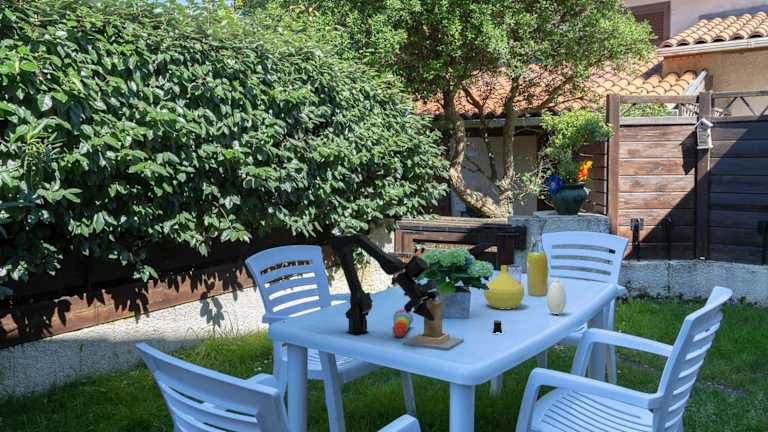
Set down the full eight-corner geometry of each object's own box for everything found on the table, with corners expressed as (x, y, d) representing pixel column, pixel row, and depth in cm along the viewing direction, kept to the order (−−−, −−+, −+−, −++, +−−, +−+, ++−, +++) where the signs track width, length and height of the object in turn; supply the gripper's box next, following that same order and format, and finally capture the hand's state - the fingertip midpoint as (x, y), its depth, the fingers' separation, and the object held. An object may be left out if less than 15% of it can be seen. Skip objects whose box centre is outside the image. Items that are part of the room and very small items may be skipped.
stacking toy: (397, 328, 273) (391, 344, 255) (391, 310, 273) (384, 324, 254) (415, 323, 272) (410, 339, 254) (410, 305, 271) (404, 319, 253)
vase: (475, 307, 310) (475, 265, 309) (500, 301, 322) (500, 261, 321) (507, 313, 296) (507, 270, 295) (532, 307, 309) (532, 265, 307)
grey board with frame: (402, 344, 245) (402, 336, 245) (420, 335, 257) (420, 328, 257) (448, 350, 236) (448, 342, 236) (463, 341, 249) (463, 333, 248)
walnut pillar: (423, 337, 246) (424, 302, 245) (429, 334, 250) (430, 299, 249) (436, 339, 243) (436, 303, 242) (442, 336, 248) (442, 301, 247)
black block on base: (488, 328, 271) (488, 317, 270) (507, 329, 269) (507, 318, 269) (488, 336, 258) (488, 324, 258) (507, 337, 257) (507, 325, 257)
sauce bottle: (558, 317, 287) (558, 275, 286) (543, 314, 294) (543, 273, 292) (569, 314, 292) (569, 273, 291) (554, 312, 298) (554, 271, 297)
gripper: (411, 275, 239) (440, 310, 234) (434, 268, 255) (461, 300, 251) (392, 295, 243) (419, 329, 239) (415, 287, 260) (441, 319, 255)
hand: (436, 319), depth 246 cm, fingers closed on walnut pillar, 5 cm apart
